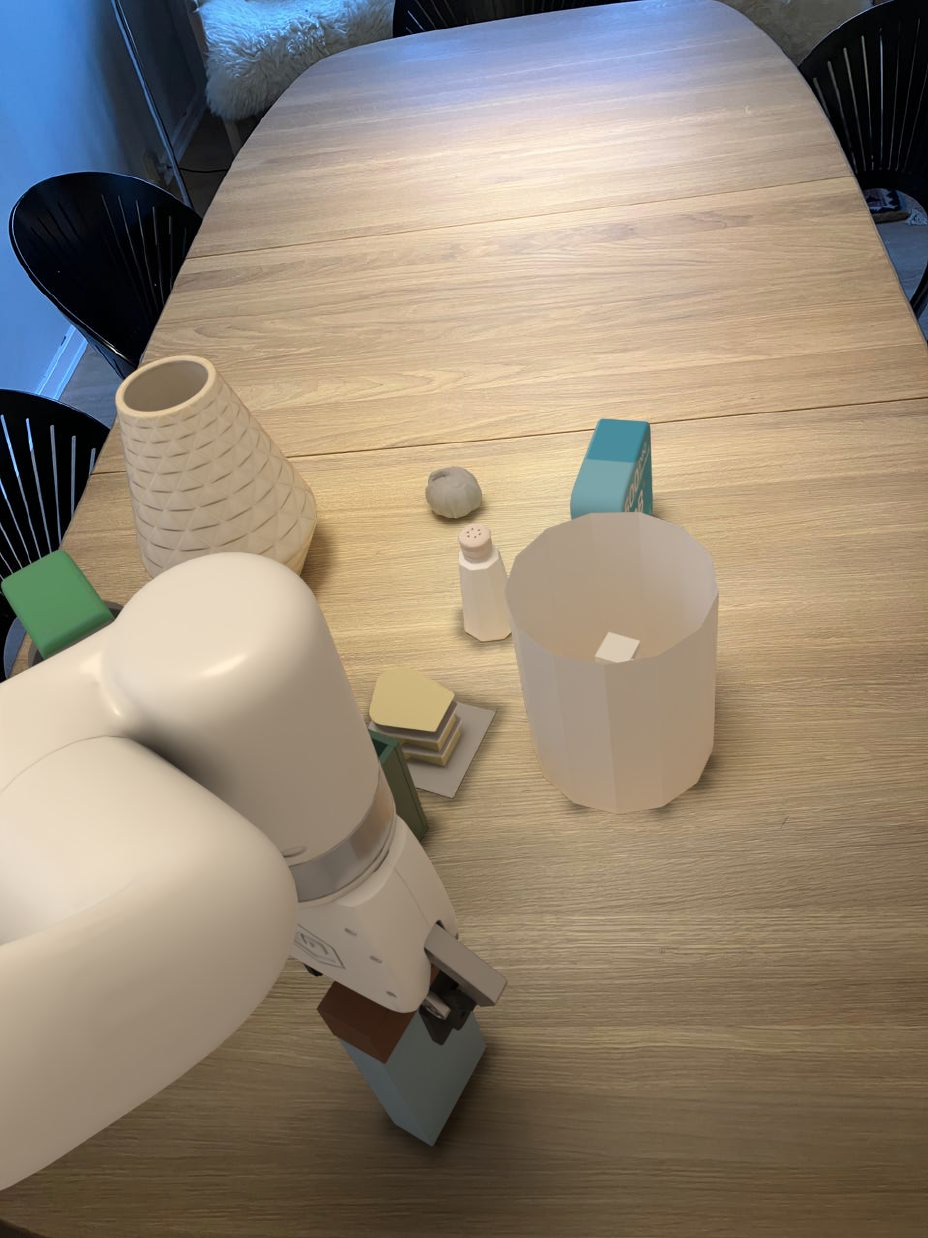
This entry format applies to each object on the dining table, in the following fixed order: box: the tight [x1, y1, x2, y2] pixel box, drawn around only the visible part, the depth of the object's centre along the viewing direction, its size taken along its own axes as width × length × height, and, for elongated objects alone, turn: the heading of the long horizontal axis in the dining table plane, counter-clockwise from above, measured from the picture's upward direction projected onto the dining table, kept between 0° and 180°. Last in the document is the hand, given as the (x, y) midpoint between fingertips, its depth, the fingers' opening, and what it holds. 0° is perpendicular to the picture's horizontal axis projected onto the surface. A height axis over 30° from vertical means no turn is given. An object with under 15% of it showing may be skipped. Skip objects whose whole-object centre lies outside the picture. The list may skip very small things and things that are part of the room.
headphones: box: [0, 549, 125, 669], centre depth 84 cm, size 19×11×20 cm, turn 36°
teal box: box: [569, 418, 654, 520], centre depth 93 cm, size 12×4×12 cm, turn 162°
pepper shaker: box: [457, 523, 512, 643], centre depth 90 cm, size 5×5×11 cm
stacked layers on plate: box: [367, 665, 497, 799], centre depth 85 cm, size 10×9×6 cm
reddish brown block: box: [316, 965, 440, 1064], centre depth 55 cm, size 7×4×4 cm, turn 149°
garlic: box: [424, 465, 483, 519], centre depth 104 cm, size 6×5×5 cm
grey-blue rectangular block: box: [336, 1006, 487, 1147], centre depth 62 cm, size 7×3×15 cm, turn 149°
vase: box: [114, 354, 318, 580], centre depth 95 cm, size 17×17×23 cm
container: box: [504, 512, 720, 815], centre depth 77 cm, size 14×14×18 cm
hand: (389, 983), depth 56 cm, fingers open, 7 cm apart
